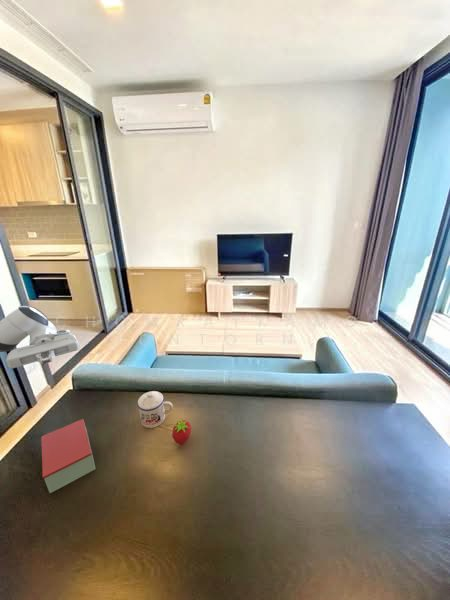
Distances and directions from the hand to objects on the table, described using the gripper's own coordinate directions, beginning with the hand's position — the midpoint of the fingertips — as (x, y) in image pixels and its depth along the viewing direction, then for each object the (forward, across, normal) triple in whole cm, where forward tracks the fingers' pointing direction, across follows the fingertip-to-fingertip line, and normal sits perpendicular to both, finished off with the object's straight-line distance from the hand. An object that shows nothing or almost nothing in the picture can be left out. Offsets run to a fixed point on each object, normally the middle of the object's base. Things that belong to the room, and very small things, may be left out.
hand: (46, 361), depth 81 cm
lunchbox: (+17, 0, +27) cm, 32 cm away
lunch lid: (+17, 0, +20) cm, 27 cm away
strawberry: (+32, +31, +27) cm, 52 cm away
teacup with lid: (+17, +28, +27) cm, 43 cm away
